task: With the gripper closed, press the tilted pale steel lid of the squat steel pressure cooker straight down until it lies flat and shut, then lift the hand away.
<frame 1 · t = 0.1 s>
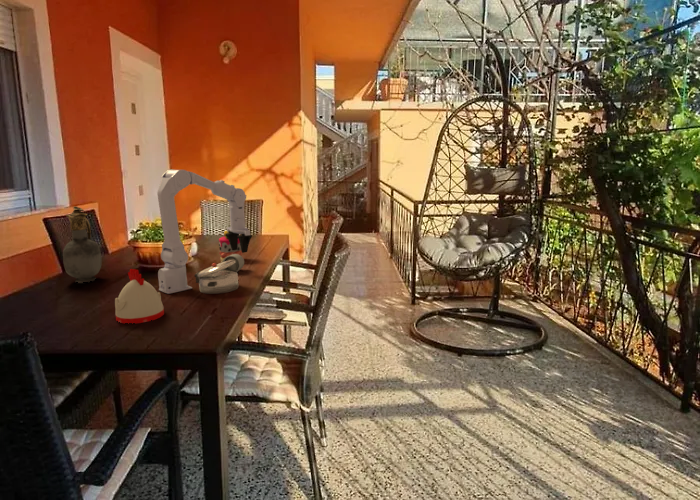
hand: (239, 251, 197), 10 cm above the table, fingers open, 7 cm apart
pitcher: (87, 280, 196), on the table
ceramic mug: (231, 272, 205), on the table
kitchen timer: (140, 316, 151), on the table
cooker lid: (215, 266, 178), point 8 cm above the table, hinge at 18.0°
cooker pot: (219, 288, 180), on the table
cake: (231, 261, 226), on the table
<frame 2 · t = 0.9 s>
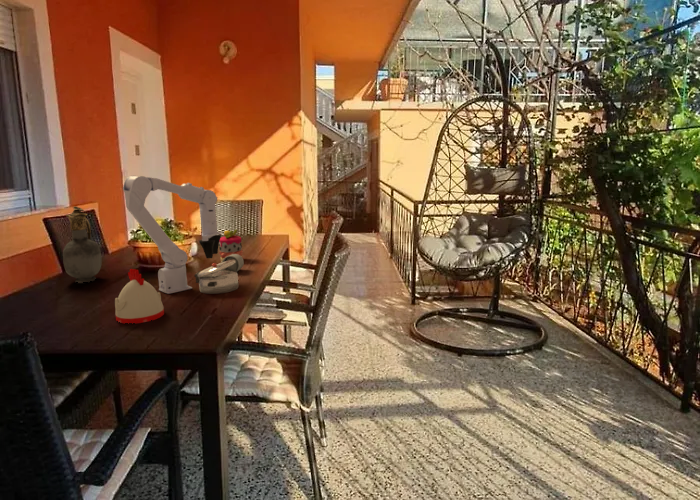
hand: (212, 255, 187), 10 cm above the table, fingers open, 7 cm apart
nothing on the table moved.
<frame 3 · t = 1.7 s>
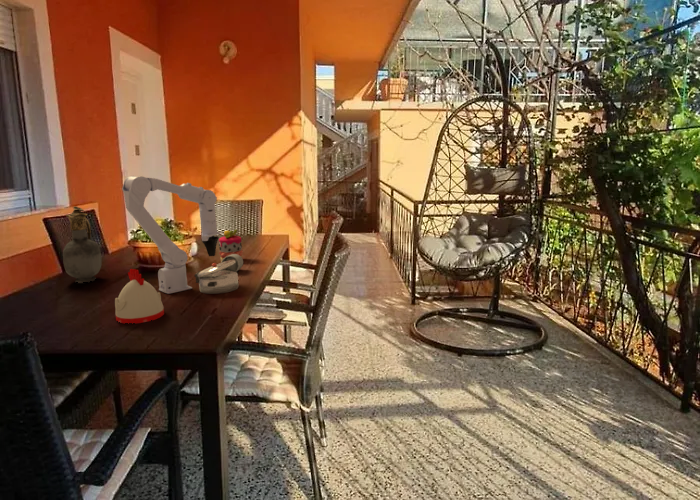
hand: (211, 255, 187), 10 cm above the table, fingers closed
nothing on the table moved.
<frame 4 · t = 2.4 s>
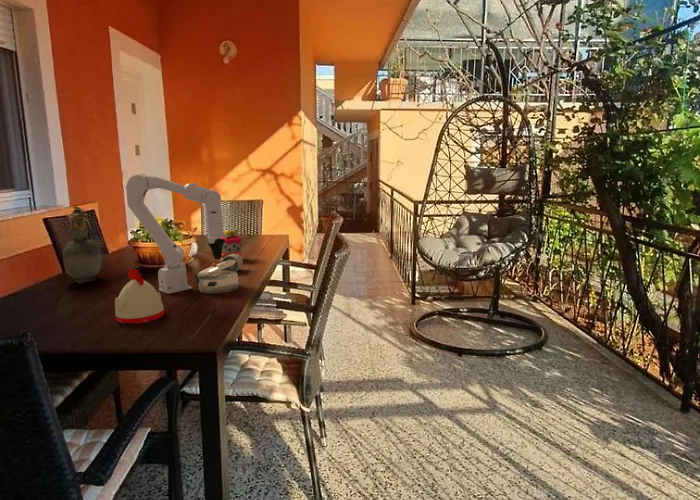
hand: (217, 258, 181), 10 cm above the table, fingers closed
nothing on the table moved.
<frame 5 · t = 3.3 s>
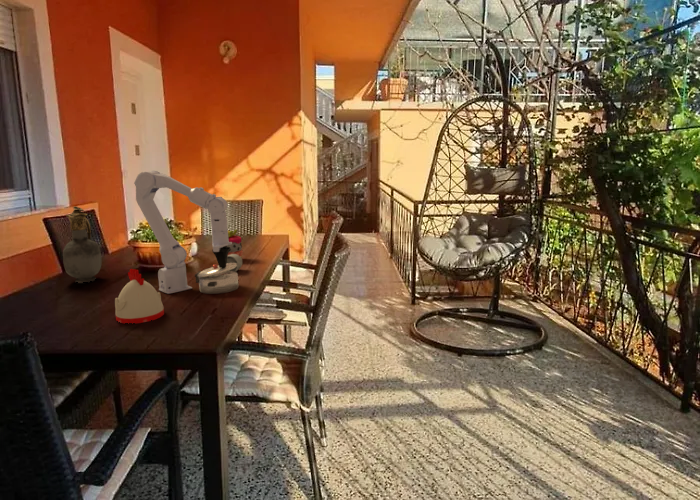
hand: (222, 267, 178), 8 cm above the table, fingers closed, pressing on cooker lid
cooker lid: (216, 268, 178), point 8 cm above the table, hinge at 12.2°, touching gripper
everything else where it was.
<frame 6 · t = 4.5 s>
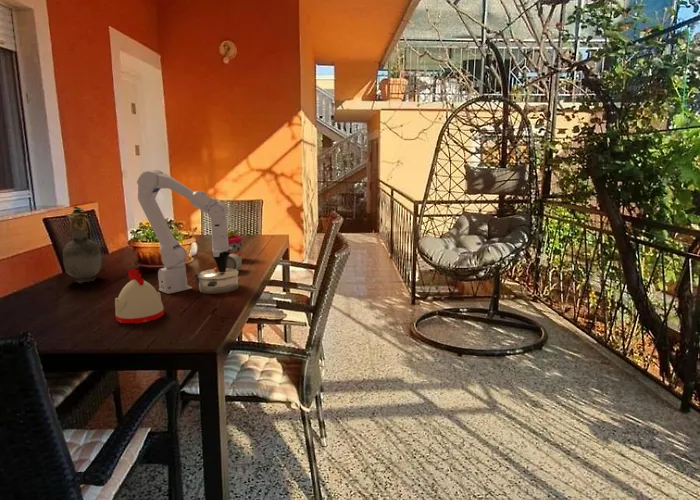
hand: (222, 271, 179), 6 cm above the table, fingers closed
cooker lid: (217, 272, 179), point 6 cm above the table, hinge at 0.4°
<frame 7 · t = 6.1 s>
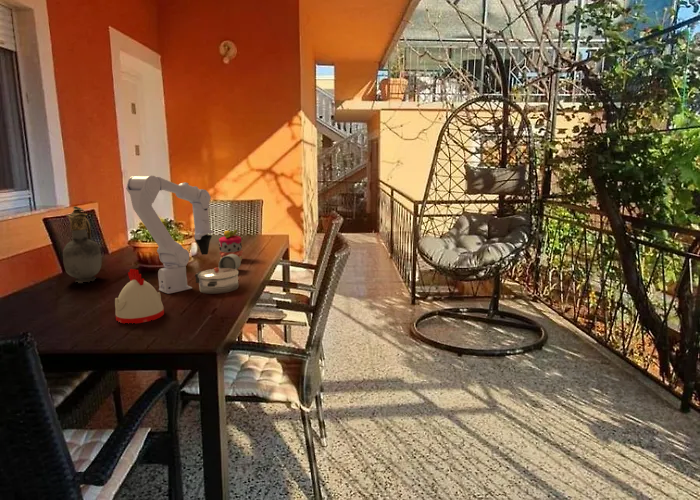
hand: (204, 254, 191), 10 cm above the table, fingers closed
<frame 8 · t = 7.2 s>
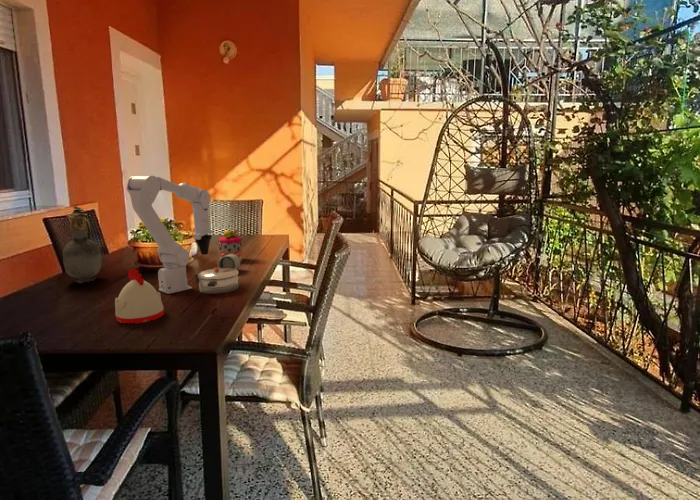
hand: (204, 254, 191), 10 cm above the table, fingers closed
at the end: cooker lid at +0° (first picture: +18°) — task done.
